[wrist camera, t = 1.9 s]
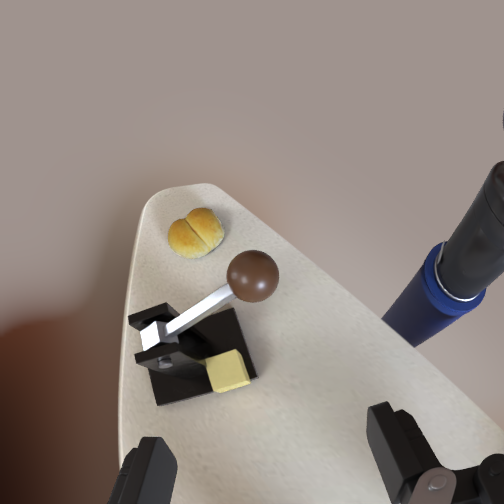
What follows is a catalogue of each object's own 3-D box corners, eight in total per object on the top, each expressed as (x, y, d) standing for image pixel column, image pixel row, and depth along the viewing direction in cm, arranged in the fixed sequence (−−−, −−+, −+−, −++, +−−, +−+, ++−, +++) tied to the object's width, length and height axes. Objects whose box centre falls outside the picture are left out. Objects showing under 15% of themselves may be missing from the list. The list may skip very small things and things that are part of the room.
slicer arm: (277, 248, 24) (249, 232, 21) (296, 290, 22) (268, 279, 19) (162, 327, 30) (131, 322, 27) (170, 361, 28) (138, 360, 25)
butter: (241, 354, 36) (235, 348, 33) (251, 383, 33) (246, 380, 30) (211, 364, 35) (203, 359, 32) (220, 392, 33) (213, 391, 30)
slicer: (235, 310, 40) (206, 262, 28) (258, 378, 35) (237, 361, 23) (145, 340, 39) (89, 307, 28) (160, 406, 34) (100, 398, 22)
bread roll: (164, 236, 48) (155, 222, 45) (209, 208, 50) (202, 193, 46) (184, 271, 44) (175, 259, 41) (233, 240, 46) (228, 225, 42)
